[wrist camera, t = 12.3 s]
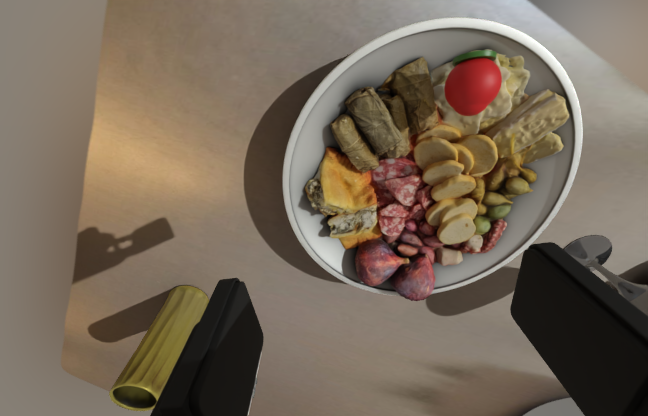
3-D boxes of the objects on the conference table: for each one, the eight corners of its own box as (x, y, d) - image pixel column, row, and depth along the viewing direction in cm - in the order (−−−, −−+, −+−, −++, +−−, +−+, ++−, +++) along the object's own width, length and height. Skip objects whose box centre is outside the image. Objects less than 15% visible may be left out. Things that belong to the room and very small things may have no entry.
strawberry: (433, 119, 24) (436, 64, 23) (475, 118, 25) (479, 64, 24) (462, 113, 20) (467, 46, 19) (511, 112, 21) (518, 48, 20)
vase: (162, 301, 43) (95, 400, 30) (180, 278, 41) (116, 375, 28) (198, 318, 45) (149, 419, 32) (217, 297, 43) (172, 396, 30)
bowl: (272, 31, 27) (254, 21, 20) (591, 16, 26) (689, 0, 19) (298, 274, 41) (293, 318, 34) (505, 267, 40) (544, 310, 33)
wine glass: (560, 285, 42) (671, 390, 28) (547, 250, 39) (664, 349, 25) (619, 262, 40) (768, 362, 26) (609, 222, 37) (773, 314, 23)
